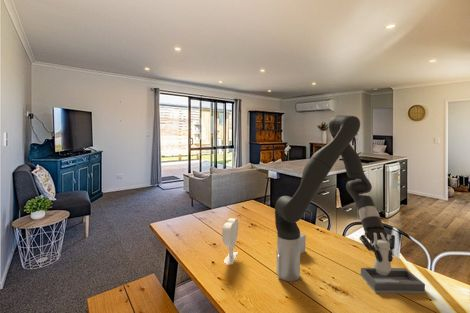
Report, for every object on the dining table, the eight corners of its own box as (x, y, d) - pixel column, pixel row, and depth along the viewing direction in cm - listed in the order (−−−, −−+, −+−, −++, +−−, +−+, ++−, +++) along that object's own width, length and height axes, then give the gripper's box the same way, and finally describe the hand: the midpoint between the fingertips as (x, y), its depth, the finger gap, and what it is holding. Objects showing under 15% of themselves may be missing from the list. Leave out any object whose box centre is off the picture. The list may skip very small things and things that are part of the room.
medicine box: (297, 248, 127) (298, 232, 126) (305, 251, 124) (305, 234, 123) (289, 254, 121) (289, 237, 121) (297, 257, 118) (297, 239, 117)
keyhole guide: (375, 292, 91) (375, 284, 90) (360, 274, 103) (360, 267, 102) (425, 293, 90) (426, 285, 89) (404, 275, 102) (404, 267, 101)
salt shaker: (375, 266, 100) (376, 236, 99) (391, 271, 97) (393, 240, 95) (372, 273, 96) (373, 241, 94) (389, 278, 92) (391, 245, 91)
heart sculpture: (230, 249, 127) (230, 215, 126) (240, 250, 126) (239, 216, 124) (221, 264, 112) (220, 226, 111) (231, 266, 111) (231, 227, 109)
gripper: (356, 215, 102) (370, 258, 91) (391, 215, 101) (409, 258, 90) (350, 223, 108) (363, 264, 97) (383, 223, 107) (400, 264, 96)
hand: (385, 261), depth 94 cm, fingers closed on salt shaker, 3 cm apart
